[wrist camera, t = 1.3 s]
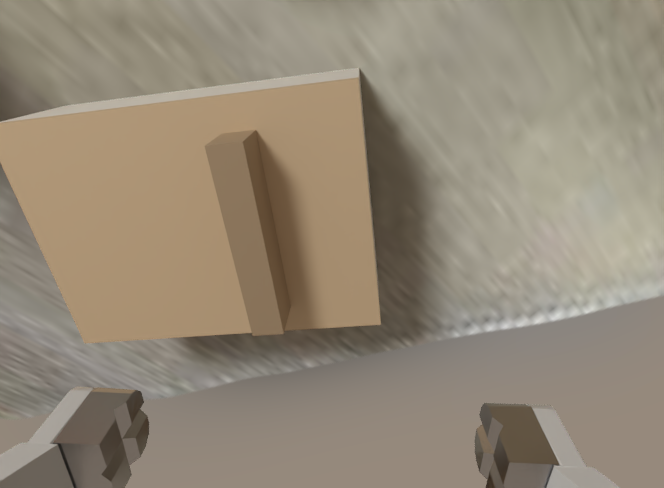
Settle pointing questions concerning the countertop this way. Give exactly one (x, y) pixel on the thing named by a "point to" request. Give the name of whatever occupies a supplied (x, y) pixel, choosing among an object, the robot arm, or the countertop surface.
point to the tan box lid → (203, 212)
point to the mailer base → (211, 92)
